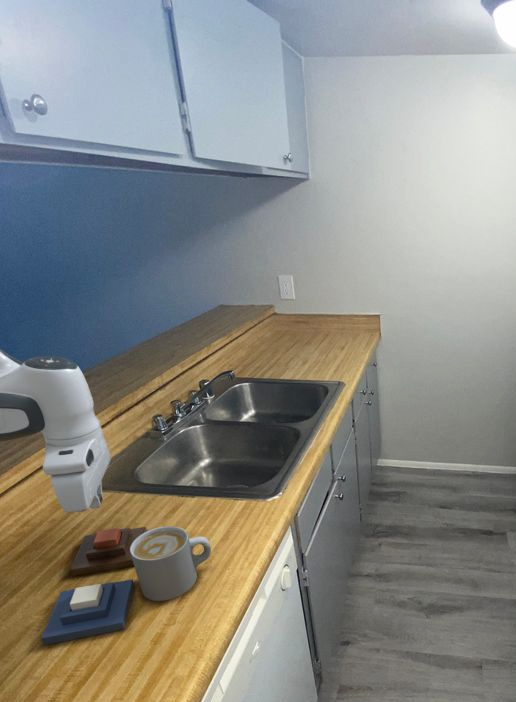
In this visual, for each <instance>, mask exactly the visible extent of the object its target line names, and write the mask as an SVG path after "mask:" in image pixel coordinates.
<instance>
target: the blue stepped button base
mask: <svg viewBox="0 0 516 702" xmlns="http://www.w3.org/2000/svg"><path fill="white" fill-rule="evenodd" d="M100 584H101V585H102V588H103V593H102V596H101V600H100V603H99V606H96V607H91V608H85V609H80V610H75V611H72V609H71V607H70V602H71V599H72V597H73V594H74V592H75V589H76V588H71V589H68V590H63V591H60V592H59V596H58V598H57V599H56V602H55V605H54V606H53V607H54V608H53V610H52V612H51V615H50V617H49V619H48V622H47V624H46V627H45V629H44V630H43V633H42V636H41V638H40V639H41V641H42V643H43V645H44V646H48V645H53V644H58V643H63V642H68V641H71V640H72V641H73V640H78V639H82V638H87V637H92V636H96V635H103V634H108V633H113V632H116V631H117V632H118V631H122V630H125V627H126V623H127V618H128V616H129V610H130V607H131V602H132V598H133V594H134V591H135V590H134V589H135V582H134V579H133V578H131V579H126V580H120V581H112V582H107V583H100Z"/></svg>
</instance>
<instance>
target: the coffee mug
mask: <svg viewBox="0 0 516 702" xmlns="http://www.w3.org/2000/svg"><path fill="white" fill-rule="evenodd" d="M198 545H201V546H202V548H203V551H202V552H201V553H200V554H195V553H194V548H195V547H196V546H198ZM130 553H131V556H132V560H133V563H134V566H133V567H134V570H135V573H136V577H137V580H138V583H139V586H140V590H141V593H142V595H143V596H144V598H146V599H148V600H150V601H155V602H164V601H169V600H174V599H176V598H179V597H181V596H182V595H184V594H186V593H187V592H188V591H189V590H191V589H192V588H193V586H194V585H195V583H196V581H197V579H198V575H197V567H198V566H200V565H202V564H203V563H204V562H206V561H207V560H208V559H209V558H210V556H211V554H212V547H211V544H210V542H209V539H208V538H206V537H204V536H200V535H199V536H194V537H191V538H190V537H189V533H188V532H187V531H186V530H185V529H184V528H182V527H178V526H174V525H173V526H171V525H169V526H159V527H156V528H152V529H150V530H147V532H145V533H143V534H142V535H140V536H139V537H138V538H136V539H135V540H134V542H133V543H132V545H131V547H130Z"/></svg>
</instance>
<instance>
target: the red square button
mask: <svg viewBox="0 0 516 702" xmlns="http://www.w3.org/2000/svg"><path fill="white" fill-rule="evenodd" d="M120 529H121V528H120V527H114V528H109V529H102V530H98V531H97V532H96V533H97V535H96V538H95V540H94V546H95V549H97V548H104V547H110V546H117V545H118V543H119V540H120V537H121V532H120Z"/></svg>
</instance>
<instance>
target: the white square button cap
mask: <svg viewBox="0 0 516 702" xmlns="http://www.w3.org/2000/svg"><path fill="white" fill-rule="evenodd" d="M101 584H102V583H97V584H91V585H85V586H81V587H75V588H74V589H75V592H74V594H73V597H72V599H71V602H70V607H71V609H72V611H75V610H80V609H85V608H91V607H96V606H99V603H100V600H101V596H102V593H103V588H102V585H101Z"/></svg>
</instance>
